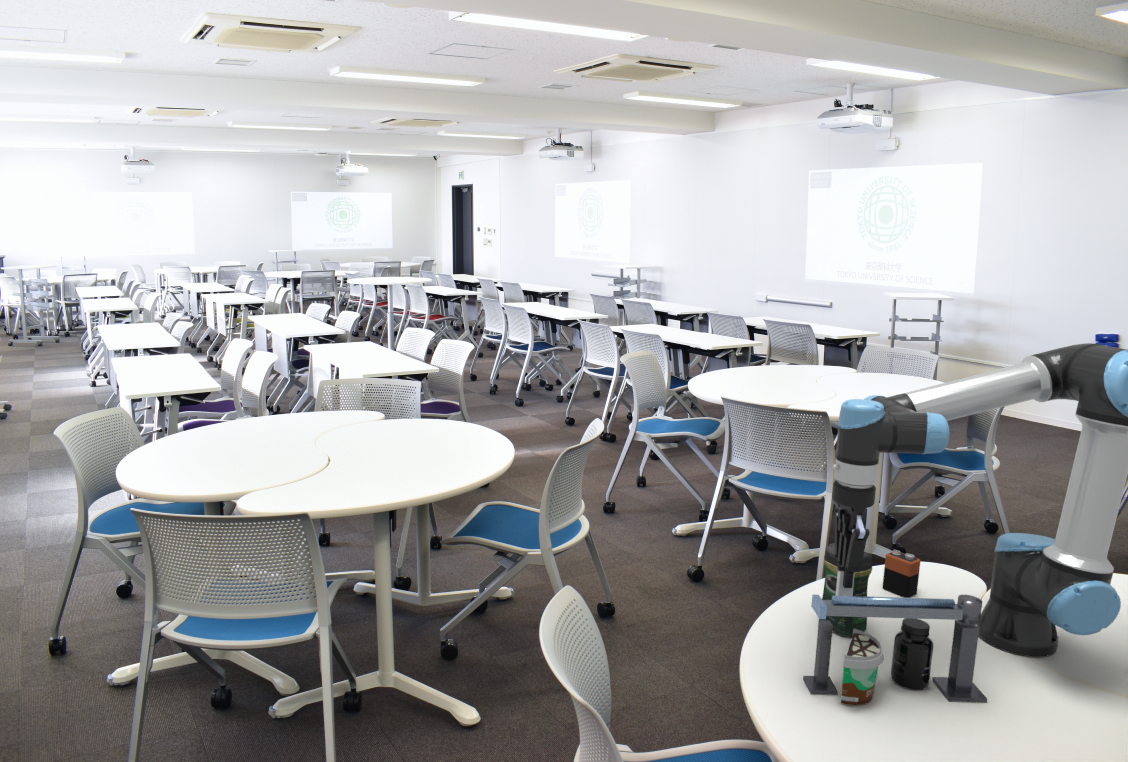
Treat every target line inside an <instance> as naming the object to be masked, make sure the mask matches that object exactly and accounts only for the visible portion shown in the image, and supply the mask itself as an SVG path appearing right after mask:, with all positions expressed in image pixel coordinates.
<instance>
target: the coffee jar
mask: <svg viewBox="0 0 1128 762" xmlns="http://www.w3.org/2000/svg"><path fill="white" fill-rule="evenodd" d="M834 555H835V542H833V543H829V544H828V545H827V547H826V549H825V554H824V557H823V564H824V571H825V572H824V583H823V590H822V591H823V592H822V597H821V599H822V600H832V596H836V585H837V574H838V567H839V566H838V564H837V560H838V559H835V556H834ZM872 572H873V556H872V554H871V553H869V552H867V551H864V555H863V560H862V565H861V569H860V572H855V576H854V586H853V596H866V597H868V586H869V578H870V575H871V573H872ZM819 620H827V621H830V622H831V624H832V625H833V630H832V632H834V633H836V634H839V635H840V636H842V637H843V636H844V637H853V629H857V630H860V631H863V632H865V633H866V631H867V627H868V624H867V623H868V617H846V616H826V619H819V618H818V621H819Z"/></svg>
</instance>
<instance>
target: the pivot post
mask: <svg viewBox="0 0 1128 762" xmlns="http://www.w3.org/2000/svg"><path fill="white" fill-rule="evenodd" d="M951 642H952V643H951V644H952V645H951V649H950V661H949V669H948V675H947V676H932V677H931V681H932V683H933V684H934V685H935V687H937V689H938V690H939V692H940V693H942V695H943V696H944V698H945V699H946V700H947V702H956V703H981V704H988V698H987V696H986V695H985V694H984V693H983V692H982V691H981V690H980V688H978V687H977V685H976V684H975V682H973V679H974V674H975V673H974V672H975V664H976V657H977V649H978V642H979V628H978V627H977V625H969V624H965V623H962V622H960V621H958V620H954V625H953V634H952V641H951Z"/></svg>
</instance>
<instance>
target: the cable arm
mask: <svg viewBox="0 0 1128 762" xmlns="http://www.w3.org/2000/svg"><path fill="white" fill-rule="evenodd" d="M810 607H811V608H812V610H813V612H814V613H815V614H816V616H817V618H818V620H819V619H826V616H846V617H867V618H879V619H881V618H883V619H887V618H888V619H906V618H911V619H920V620H943V621H944V620H947V621H949V620H951V621H955V620H958V621H960V622H962V623H965V624H969V625H976V626H977V624H979V623H980V617H981V613H982V610H983V609H982V608H983V600H982V599H980V598H979V597H977V596H974V595H971V594H960V595H958V597H957V603H956V601H955V600H954V598H933V597H928V598H926V597H910V598H904V597H900V596H899V597H895V596H890V597H889V596H867V597H866V596H832V600H822V597H821V596H820V594H814V593H813V594H812V595H811V606H810Z"/></svg>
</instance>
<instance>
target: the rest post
mask: <svg viewBox="0 0 1128 762" xmlns="http://www.w3.org/2000/svg"><path fill="white" fill-rule="evenodd" d="M832 630H833V625H832V624H831V622H830V621H827V620H819V619H818V626H817V637H816V649H815V660H814V670H813V675H803V677H802V679H803V683H804V684H805V687H806V688H807V690H808V692H809V694H810V695H823V696H824V695H826V696H827V695H828V696H829V695H830V696H838V695H839V690H838V689H837V687H836V685H835V683H834V681H833V680H832V678H831V676H830V675H829V674H830V662H831V649H832V639H833V631H832Z"/></svg>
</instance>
